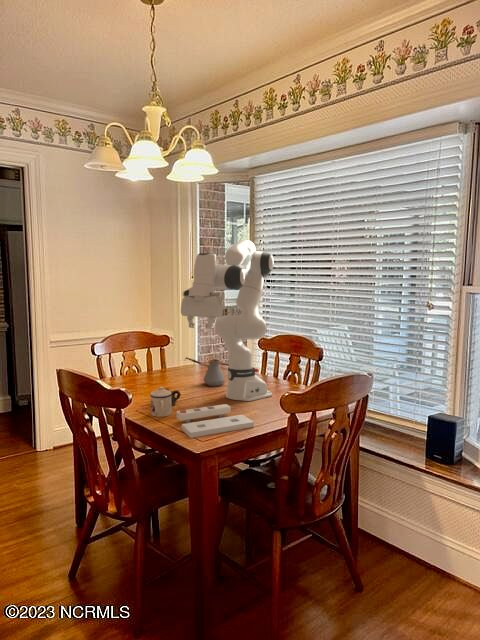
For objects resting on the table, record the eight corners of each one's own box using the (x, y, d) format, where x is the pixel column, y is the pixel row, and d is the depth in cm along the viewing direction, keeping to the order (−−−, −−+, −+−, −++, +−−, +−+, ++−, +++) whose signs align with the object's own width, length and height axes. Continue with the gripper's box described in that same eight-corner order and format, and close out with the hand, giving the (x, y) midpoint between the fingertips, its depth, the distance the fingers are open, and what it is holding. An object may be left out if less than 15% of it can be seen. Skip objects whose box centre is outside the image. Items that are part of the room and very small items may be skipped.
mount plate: (242, 419, 186) (242, 414, 185) (253, 426, 177) (253, 421, 176) (181, 429, 174) (181, 424, 174) (190, 437, 165) (190, 432, 165)
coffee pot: (224, 381, 247) (224, 354, 245) (226, 387, 236) (225, 358, 234) (185, 382, 245) (184, 355, 243) (184, 388, 234) (184, 359, 232)
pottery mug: (159, 410, 199) (152, 392, 201) (157, 413, 208) (151, 396, 210) (184, 400, 203) (178, 383, 205) (182, 404, 212) (175, 387, 214)
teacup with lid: (150, 411, 196) (149, 385, 195) (171, 409, 198) (170, 383, 197) (151, 420, 184) (150, 392, 183) (173, 418, 186) (173, 391, 185)
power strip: (226, 413, 193) (226, 402, 192) (230, 416, 189) (230, 405, 188) (176, 421, 183) (176, 409, 182) (180, 425, 179) (180, 412, 178)
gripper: (228, 293, 174) (224, 329, 173) (191, 294, 187) (187, 328, 186) (216, 291, 169) (213, 328, 168) (179, 292, 182) (176, 326, 181)
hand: (199, 328), depth 177 cm, fingers open, 8 cm apart
